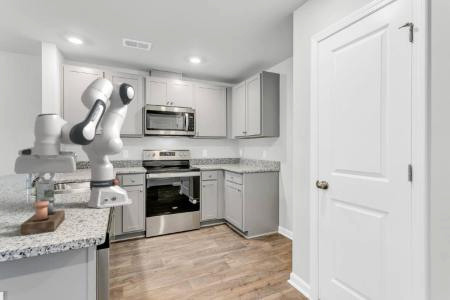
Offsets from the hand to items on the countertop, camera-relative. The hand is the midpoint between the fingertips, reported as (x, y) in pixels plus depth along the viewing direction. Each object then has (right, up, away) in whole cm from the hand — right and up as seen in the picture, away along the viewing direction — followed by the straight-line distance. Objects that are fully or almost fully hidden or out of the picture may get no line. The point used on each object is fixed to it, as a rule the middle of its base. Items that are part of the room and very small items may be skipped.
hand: (46, 183), depth 92 cm
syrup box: (-23, -17, +26) cm, 39 cm away
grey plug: (0, -13, +1) cm, 12 cm away
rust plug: (+3, -12, -7) cm, 15 cm away
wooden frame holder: (+2, -17, -3) cm, 17 cm away
